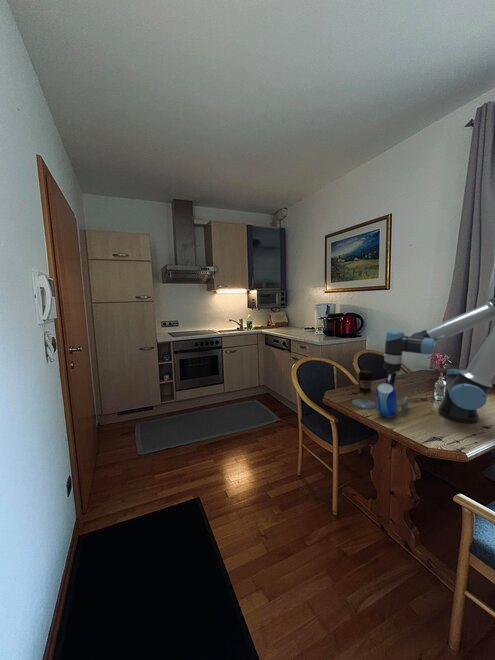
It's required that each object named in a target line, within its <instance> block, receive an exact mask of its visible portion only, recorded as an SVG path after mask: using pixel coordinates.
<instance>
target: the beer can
mask: <svg viewBox="0 0 495 660" xmlns="http://www.w3.org/2000/svg"><path fill="white" fill-rule="evenodd" d="M375 395H376V404H377V403H378V410H377V411H378V412H379V414H380V415H382V416H383V417H385V418H393V417H395V416H396V415H397V414H398V411H399V410H398V409H399V408H398V406H397V404H398V400H397V399H398V398H397V391H396V389H395V387H394V388H393V387H392V385H390V384H387V383H386V382H385V383H379V384H378V386H377V388H376V389H375Z"/></svg>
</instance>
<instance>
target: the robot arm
mask: <svg viewBox="0 0 495 660" xmlns="http://www.w3.org/2000/svg"><path fill="white" fill-rule="evenodd" d="M494 320H495V297H493V298H491V299H489V300H486V302H485V304H483V305H480V306H478V307H476V308H474V309H471V310H469V311H466V312H464V313H461V314H459V315H456V316H454V317H453V318H449V319H446V320H445V321H443V322H440V323H438V324H436V325H433V326H430V327H429V328H425V330H422V331H419V332H415V333H413V334H411V336H408V335H405V332H404V331H401V330H388V331H386V335H385V336H386V337H385V343H384V345H385V346H384V354H383V355H382V356H383V357H384V358H383V360H384V361H383V369H384V370H385V371H386V373H385V374H386V375H385V377H386V378H385V383H387V384H390V385H392V387H393V388H394V389H395V381H396V378H397V372H400V371H401V370H402V360H403V352H404V353H410V354H411V353H412V354H420V355H432V354H434V350H435V343H438V342H441V341H443V340H445V339H448V338H451V337H453V336H456V335H458V334H461V333H464V332H466V331H468V330H471V329H473V328H476V327H480V326H481V325H484V324H486V323H489V322H492V321H494ZM494 376H495V326H494V327H493V328H492V330H491V332H490V333H489V334H488V336H487V337H486V339H485V340H484V341H483V344H481V347H479V349H478V351H477V352H476V354H475V355H474V356H473V359H472V360H471V361H470V363H469V365H468V366H467V368H466V369H460V368H459V369H458V368H449V369H447V371H446V374H445V378H446V379H445V386H444V387H445V388H444V394H443V395H444V397H443V399H442V401H441V403H440V405H439V407H438V411H437V412H438V414H440V415H439V416H442V417H444V418H446V419H448V420H451V421H454V422H459V423H464V424H475V422H476V423H478V422H477V421H479V413H478V409H481V408H482V407H484V406H485V405H486V403H487V399H488V396H487V395H488V394H489V391H490V390H492V388H493V384H492V379H493V378H494Z"/></svg>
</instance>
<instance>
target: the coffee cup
mask: <svg viewBox="0 0 495 660" xmlns="http://www.w3.org/2000/svg"><path fill="white" fill-rule="evenodd" d="M373 378H374V373H373V371H372V370H360V371H359V372H358V387H359V388H358V389H359V390H358V391H359V392H360V393H362V394H371V392H372V391H371V388H372V383H373Z"/></svg>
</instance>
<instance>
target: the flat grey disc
mask: <svg viewBox="0 0 495 660" xmlns="http://www.w3.org/2000/svg"><path fill="white" fill-rule="evenodd" d="M351 401H352V402H351V404H352V405H353V406H354V407H356V408H358V409H363V410H373V409H376V406H377V403H375V402H374V401H372V400H369V399H366V398H355V399H353V400H351Z"/></svg>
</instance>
